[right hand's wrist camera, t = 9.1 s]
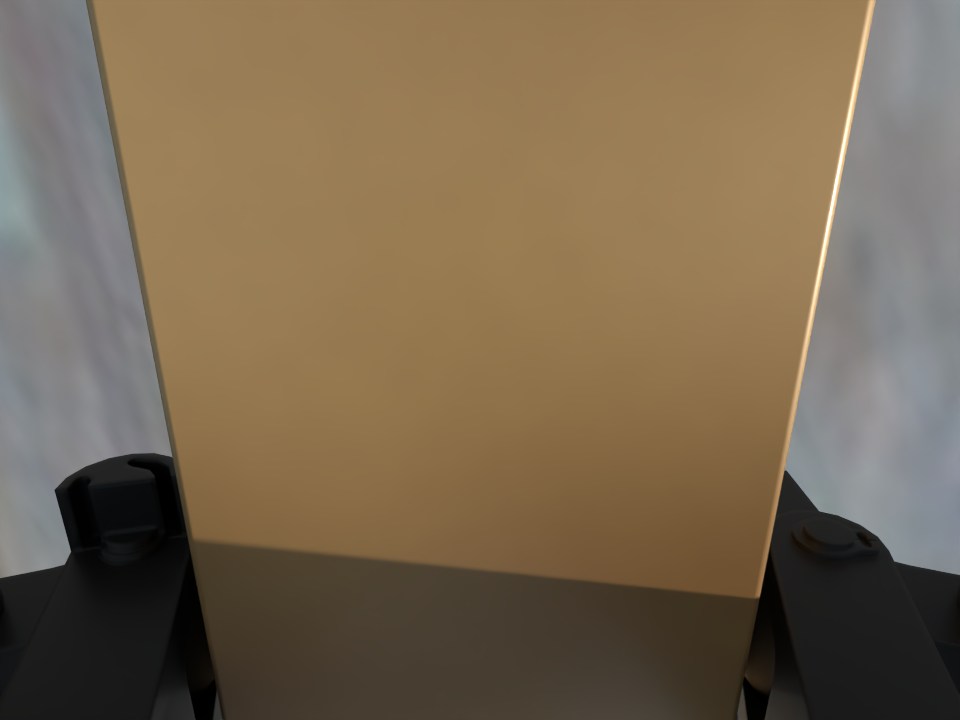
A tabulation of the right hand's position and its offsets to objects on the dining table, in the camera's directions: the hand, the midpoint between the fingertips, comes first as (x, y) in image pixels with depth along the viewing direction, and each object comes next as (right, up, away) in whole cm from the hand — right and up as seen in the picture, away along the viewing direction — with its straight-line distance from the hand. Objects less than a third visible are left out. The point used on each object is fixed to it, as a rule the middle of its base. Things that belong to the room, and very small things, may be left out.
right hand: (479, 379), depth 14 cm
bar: (0, +8, -3) cm, 8 cm away
